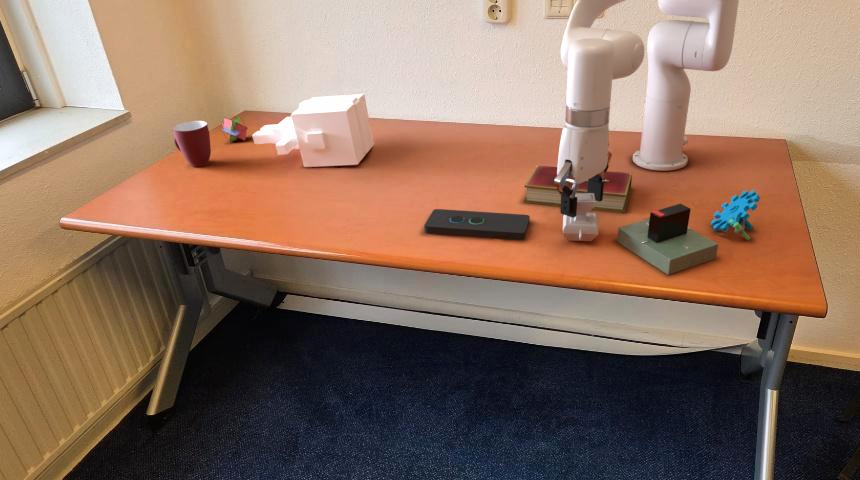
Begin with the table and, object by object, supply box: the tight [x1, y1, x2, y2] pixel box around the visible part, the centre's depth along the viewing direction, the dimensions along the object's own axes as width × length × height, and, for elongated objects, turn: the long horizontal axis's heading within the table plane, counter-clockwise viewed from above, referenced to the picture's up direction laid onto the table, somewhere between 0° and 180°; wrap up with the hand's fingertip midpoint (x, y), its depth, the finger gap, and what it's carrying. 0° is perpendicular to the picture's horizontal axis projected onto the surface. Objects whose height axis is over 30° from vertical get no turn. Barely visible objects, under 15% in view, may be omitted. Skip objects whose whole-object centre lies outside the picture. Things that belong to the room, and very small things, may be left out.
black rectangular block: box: [647, 203, 692, 243], centre depth 118 cm, size 7×3×5 cm, turn 117°
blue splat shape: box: [710, 189, 761, 241], centre depth 125 cm, size 11×6×10 cm
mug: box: [172, 120, 212, 168], centre depth 165 cm, size 11×8×10 cm
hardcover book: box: [523, 164, 633, 213], centre depth 142 cm, size 12×21×4 cm, turn 72°
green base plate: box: [616, 218, 719, 276], centre depth 120 cm, size 14×11×3 cm
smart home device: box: [423, 208, 531, 241], centre depth 131 cm, size 8×2×20 cm
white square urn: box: [562, 193, 599, 242], centre depth 125 cm, size 9×7×8 cm
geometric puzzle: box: [220, 115, 249, 144], centre depth 180 cm, size 7×7×8 cm
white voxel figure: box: [251, 93, 375, 168], centre depth 165 cm, size 15×25×28 cm
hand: (581, 206), depth 123 cm, fingers open, 8 cm apart
